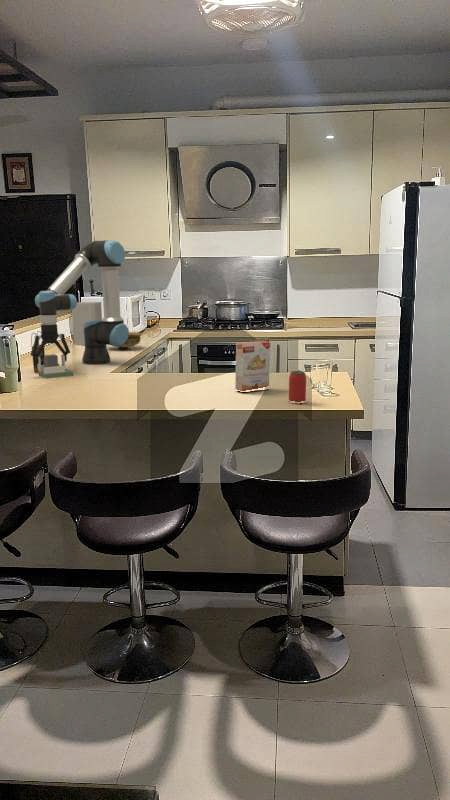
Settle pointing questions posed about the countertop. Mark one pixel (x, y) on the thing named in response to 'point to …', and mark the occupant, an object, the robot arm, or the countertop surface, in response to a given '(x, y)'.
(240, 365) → the cracker box
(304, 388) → the beer can
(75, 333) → the tall grey upright block
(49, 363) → the plug
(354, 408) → the countertop surface
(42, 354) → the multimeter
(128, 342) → the ceramic bowl
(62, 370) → the board
